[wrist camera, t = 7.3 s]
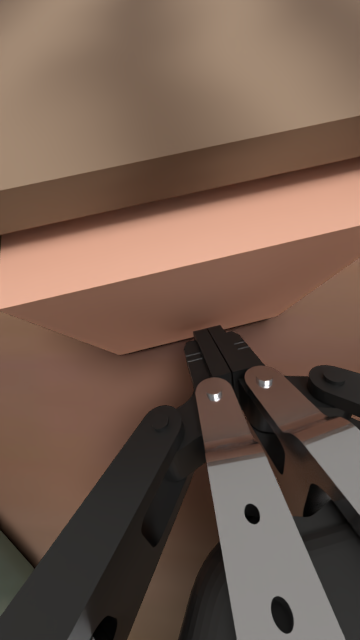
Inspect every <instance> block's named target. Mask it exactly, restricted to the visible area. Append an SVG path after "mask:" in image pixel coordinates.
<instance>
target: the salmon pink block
mask: <svg viewBox="0 0 360 640" xmlns="http://www.w3.org/2000/svg"><path fill="white" fill-rule="evenodd" d="M358 258H360V156H359V157H355V158H350V159H346V160H341V161H336V162H332V163H327V164H323V165H318V166H313V167H309V168H304V169H300V170H295V171H290V172H286V173H281V174H277V175H272V176H267V177H263V178H258V179H254V180H249V181H244V182H240V183H235V184H231V185H226V186H221V187H217V188H212V189H208V190H203V191H198V192H194V193H189V194H185V195H180V196H176V197H171V198H166V199H162V200H157V201H153V202H148V203H143V204H139V205H134V206H130V207H125V208H120V209H116V210H111V211H107V212H102V213H97V214H93V215H88V216H84V217H79V218H74V219H70V220H65V221H61V222H56V223H51V224H47V225H42V226H38V227H33V228H28V229H24V230H19V231H15V232H10V233H6V234H2V236H1V250H0V312H3V313H6V314H9V315H11V316H14V317H17V318H19V319H22V320H25V321H28V322H30V323H33V324H36V325H39V326H41V327H44V328H47V329H49V330H52V331H55V332H58V333H60V334H63V335H66V336H68V337H71V338H74V339H77V340H79V341H82V342H85V343H87V344H90V345H93V346H96V347H98V348H101V349H104V350H106V351H109V352H112V353H115V354H117V355H123V354H127V353H131V352H135V351H139V350H143V349H147V348H151V347H155V346H159V345H163V344H167V343H171V342H175V341H179V340H183V339H187V338H191V337H194V335H193V331H197V330H201V329H205V328H206V329H207V328H209V327H213V326H217V325H221V327H222V328H223V329H228V328H232V327H236V326H240V325H244V324H248V323H252V322H256V321H260V320H264V319H268V318H272V317H276V316H278V315H280V314H281V313H282V312H284V311H285V310H287V309H288V308H289V307H291V306H292V305H294V304H295V303H296V302H298V301H299V300H301V299H302V298H303V297H305V296H306V295H308V294H309V293H310V292H312V291H313V290H315V289H316V288H317V287H319V286H320V285H322V284H323V283H324V282H326V281H327V280H329V279H330V278H331V277H333V276H334V275H336V274H337V273H338V272H340V271H341V270H343V269H344V268H345V267H347V266H348V265H350V264H351V263H352V262H354V261H355V260H357V259H358Z"/></svg>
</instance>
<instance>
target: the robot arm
mask: <svg viewBox="0 0 360 640" xmlns="http://www.w3.org/2000/svg"><path fill="white" fill-rule="evenodd" d="M193 335H194V341H190V342H186V345H185V348H184V351H185V356H186V360H187V365H188V369H189V373H190V377H191V380H192V384H193V388H194V392H193V395H192V396H191V398H190V399H189V400H188V401H187V402H186V403H185V404H183V405H182V406H180V407H178V408H177V409H175V408H174V407H172V406H167V405H163V406H159V407H156V408H154V409H152V410H151V411H150V412H149V413H148V414H147V415H146V416H145V417H144V419H143V420H142V421H141V423H140V424H139V426H138V427H137V428H136V430H135V431H134V433H133V434H132V435H131V437H130V438H129V439H128V441H127V442H126V444H125V445H124V446H123V448H122V449H121V450H120V452H119V453H118V455H117V456H116V457H115V459H114V460H113V461H112V463H111V464H110V466H109V467H108V468H107V470H106V471H105V473H104V474H103V475H102V477H101V478H100V479H99V481H98V482H97V484H96V485H95V486H94V488H93V489H92V490H91V492H90V493H89V495H88V496H87V497H86V499H85V500H84V501H83V503H82V504H81V506H80V507H79V508H78V510H77V511H76V513H75V514H74V515H73V517H72V518H71V519H70V521H69V522H68V524H67V525H66V526H65V528H64V529H63V530H62V532H61V533H60V535H59V536H58V537H57V539H56V540H55V542H54V543H53V544H52V546H51V547H50V548H49V550H48V551H47V553H46V554H45V555H44V557H43V558H42V559H41V561H40V562H39V564H38V565H37V566H36V568H35V569H34V570H33V572H32V573H31V575H30V576H29V577H28V579H27V580H26V582H25V583H24V584H23V586H22V587H21V588H20V590H19V591H18V593H17V594H16V595H15V597H14V598H13V599H12V601H11V602H10V604H9V605H8V606H7V608H6V609H5V611H4V612H3V613H2V615H1V616H0V640H127V638H128V636H129V633H130V631H131V628H132V626H133V623H134V621H135V618H136V616H137V613H138V611H139V608H140V606H141V603H142V601H143V598H144V596H145V593H146V591H147V588H148V586H149V583H150V581H151V578H152V576H153V573H154V571H155V568H156V566H157V564H158V561H159V559H160V556H161V554H162V551H163V549H164V546H165V544H166V541H167V539H168V536H169V534H170V531H171V529H172V526H173V524H174V521H175V519H176V516H177V514H178V511H179V509H180V506H181V504H182V501H183V499H184V496H185V494H186V491H187V489H188V487H189V484H190V482H191V479H192V477H193V474H194V471H195V470H196V469H197V468H198V467H200V466H201V465H202V464H204V463H205V462H207V468H208V474H209V480H210V485H211V491H212V497H213V503H214V509H215V514H216V520H217V526H218V532H219V538H220V542H219V543H218V544H217V545H216V546H215V547H214V548H213V549H212V551H211V552H210V553H209V555H208V556H207V558H206V559H205V561H204V563H203V565H202V567H201V569H200V571H199V573H198V575H197V577H196V580H195V583H194V585H193V588H192V591H191V594H190V598H189V601H188V605H187V609H186V612H185V616H184V620H183V624H182V628H181V631H180V635H179V639H178V640H360V421H358V420H355V419H353V418H351V416H352V414H353V415H355V416H358V417H360V374H359V373H356V372H352V371H349V370H345V369H342V368H338V367H334V366H328V365H321V366H316V367H314V368H312V369H311V370H310V372H309V377H308V376H283V375H282V374H281V373H280V372H279V371H278V370H276V369H274V368H272V367H268V366H265V365H264V364H263V363H262V362H261V360H260V359H259V358H258V357H257V356H256V354H255V353H254V352H253V351H252V350H251V348H250V347H248V345H247V344H246V342H244V340H243V339H242V338H241V336H240V335H238V334H236V333H234V332H232V331H231V332H227V333H226V332H225V331H224V329H223V328H222V327H221V325H217V326H213V327H209V328H207V329H206V328H205V329H201V330H197V331H193ZM242 410H243V411H244V413H245V415H246V420H247V422H246V420H245V417H244V415H243V412H242ZM252 436H253V437H252ZM253 438H254V439H255V440H254V439H253ZM272 470H273V471H272ZM273 472H274V474H275V476H276V478H277V480H278V482H279V484H280V487H281V490H280V487H279V485H278V483H277V480H276V478H275V476H274V474H273ZM281 491H282V492H281ZM290 511H291V513H292V515H293V516H292V515H291V513H290Z"/></svg>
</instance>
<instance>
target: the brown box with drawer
mask: <svg viewBox="0 0 360 640" xmlns="http://www.w3.org/2000/svg"><path fill="white" fill-rule="evenodd" d="M359 156H360V0H0V250H1V236H2V234H6V233H10V232H15V231H19V230H24V229H28V228H33V227H38V226H42V225H47V224H51V223H56V222H61V221H65V220H70V219H74V218H79V217H84V216H88V215H93V214H97V213H102V212H107V211H111V210H116V209H120V208H125V207H130V206H134V205H139V204H143V203H148V202H153V201H157V200H162V199H166V198H171V197H176V196H180V195H185V194H189V193H194V192H198V191H203V190H208V189H212V188H217V187H221V186H226V185H231V184H235V183H240V182H244V181H249V180H254V179H258V178H263V177H267V176H272V175H277V174H281V173H286V172H290V171H295V170H300V169H304V168H309V167H313V166H318V165H323V164H327V163H332V162H336V161H341V160H346V159H350V158H355V157H359Z"/></svg>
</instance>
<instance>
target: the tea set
mask: <svg viewBox="0 0 360 640" xmlns="http://www.w3.org/2000/svg"><path fill="white" fill-rule="evenodd" d="M33 570H34V568H33V567H32V565H31V564H30V563H29V562H28V561H27V560H26V559H25V558H24V556H23V555H22V554H21V553H20V552H19V551H18V550H17V548H16V547H15V546H14V545H13V544H12V543H11V542H10V541H9V539H8V538H7V537H6V536H5V535H4V534H3V533H2V531H1V530H0V616H1V615H2V613H3V612H4V611H5V609H6V608H7V606H8V605H9V604H10V602H11V601H12V599H13V598H14V597H15V595H16V594H17V593H18V591H19V590H20V588H21V587H22V586H23V584H24V583H25V582H26V580H27V579H28V577H29V576H30V575H31V573H32V572H33Z"/></svg>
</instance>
